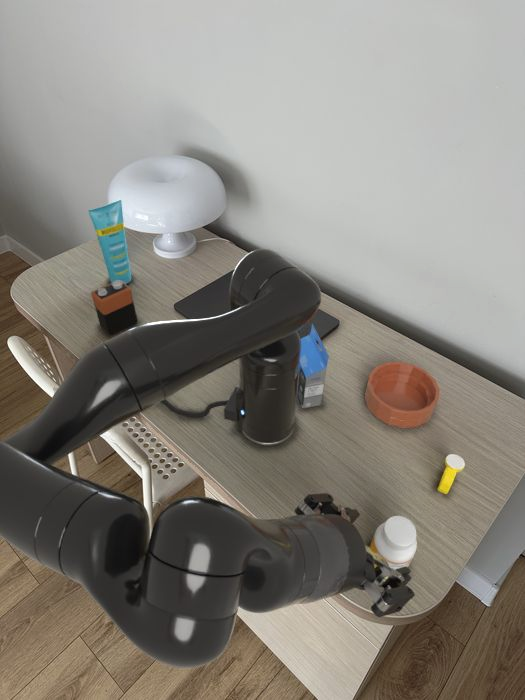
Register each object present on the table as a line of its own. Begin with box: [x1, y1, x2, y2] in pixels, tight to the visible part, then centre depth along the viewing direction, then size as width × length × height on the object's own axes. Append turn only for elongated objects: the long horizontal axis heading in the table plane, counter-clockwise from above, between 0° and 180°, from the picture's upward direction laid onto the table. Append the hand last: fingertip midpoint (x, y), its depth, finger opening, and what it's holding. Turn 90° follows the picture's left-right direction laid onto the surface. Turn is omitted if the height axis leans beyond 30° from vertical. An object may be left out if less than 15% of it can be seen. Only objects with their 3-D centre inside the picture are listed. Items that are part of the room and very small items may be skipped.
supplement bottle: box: [369, 515, 418, 582], centre depth 64 cm, size 5×5×10 cm
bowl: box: [364, 361, 441, 429], centre depth 87 cm, size 12×12×4 cm
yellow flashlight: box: [437, 453, 466, 495], centre depth 75 cm, size 6×3×6 cm, turn 149°
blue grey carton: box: [297, 323, 330, 409], centre depth 87 cm, size 9×4×12 cm, turn 14°
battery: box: [91, 280, 138, 336], centre depth 100 cm, size 4×7×10 cm, turn 131°
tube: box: [87, 199, 132, 285], centre depth 109 cm, size 7×5×19 cm, turn 134°
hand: (377, 545), depth 59 cm, fingers open, 8 cm apart
